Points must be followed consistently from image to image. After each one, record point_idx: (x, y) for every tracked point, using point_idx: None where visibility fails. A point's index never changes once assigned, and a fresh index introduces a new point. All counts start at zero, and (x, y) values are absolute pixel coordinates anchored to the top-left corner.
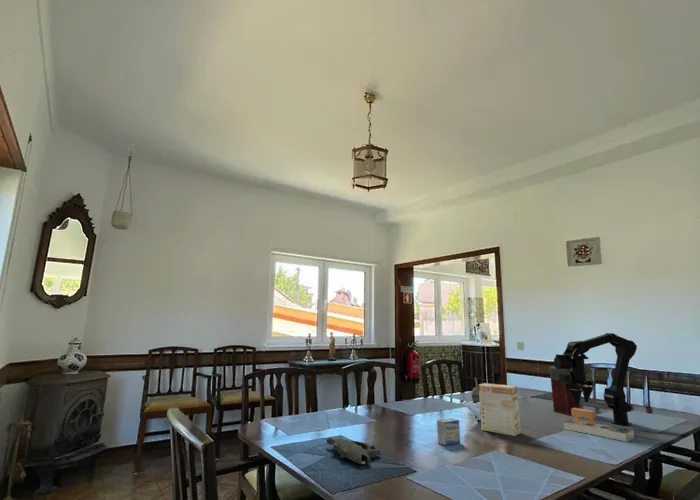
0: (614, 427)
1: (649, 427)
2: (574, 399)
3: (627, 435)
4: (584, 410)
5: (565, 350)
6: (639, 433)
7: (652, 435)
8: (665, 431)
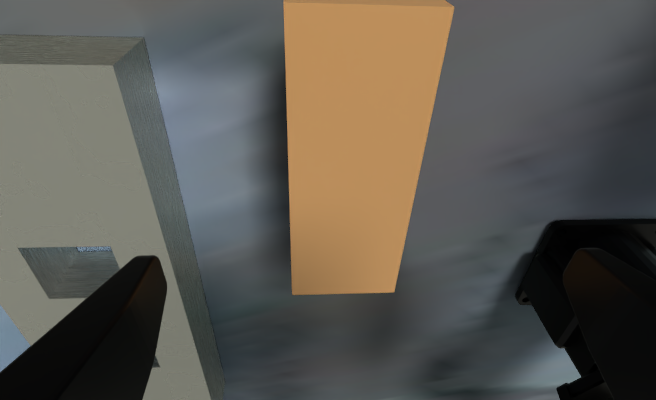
0: (188, 374)
1: (560, 353)
2: (39, 346)
3: None
4: (325, 217)
5: None
6: (362, 366)
7: (367, 395)
8: (503, 397)
